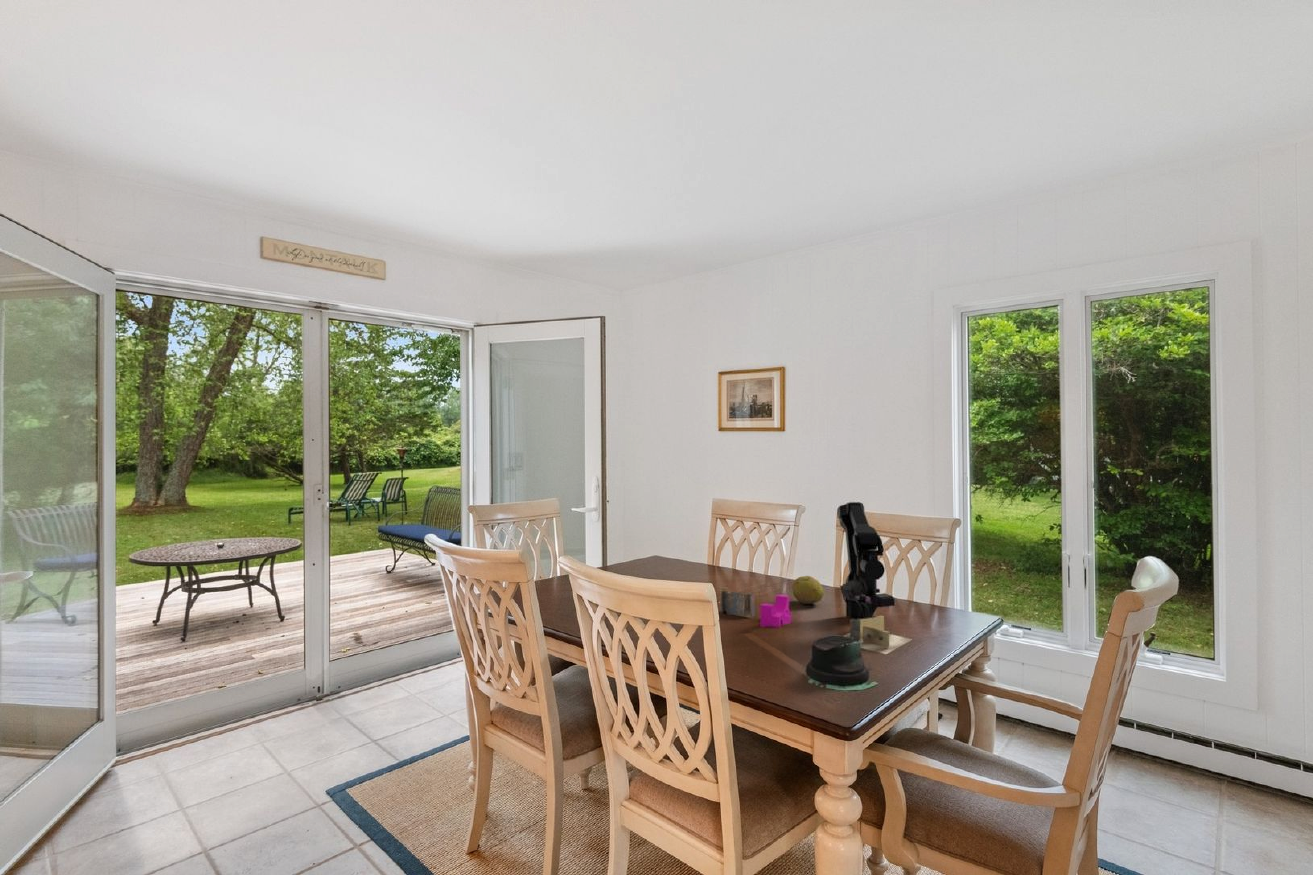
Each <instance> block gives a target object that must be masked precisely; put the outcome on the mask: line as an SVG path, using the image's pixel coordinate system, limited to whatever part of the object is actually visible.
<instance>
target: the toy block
mask: <svg viewBox="0 0 1313 875" xmlns="http://www.w3.org/2000/svg"><path fill="white" fill-rule="evenodd" d="M791 623H792V611H790V596H789V595H785V594H777V595H775V602H774V604H772V603H766V602H763V603H762V604H760V628H765V627H776V628H777V627H778V628H780V627H781V626H784V625H788V624H789V625H790V624H791Z"/></svg>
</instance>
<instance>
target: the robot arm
mask: <svg viewBox="0 0 1313 875" xmlns="http://www.w3.org/2000/svg"><path fill="white" fill-rule="evenodd" d="M836 516H837V519H838V520H839V525H840V526H841V527H842V529H843V530H844V532H845V542H846V550H847V553H846V554H847V562H848V569H849V570H848V571H849V572H848V575H847V576H846V579H845V581H844V582H845V583H843V584H841V585H840V586H839V588H840V592H841V594H842V600H843V601H844V602H845V612H846V615H845V617H846V618H847V617H850V618H851V619H858V618H866V617H874V614H875V612H876V611H877V609H878V608H884V607H886V608H887V607H893V606H894V607H895V606H896V598H894V596H893V595H891V594H888V593H880V592H881V591H880V590H881V589H879V588H878V587H877V586H878V585H877V584H878V582H877V581H878V580H880V578H882V577H883V576H884V574H885V566H884V564H883V563H882V562H881V561H880V560H879V557H880V556H881V557H882V556H883V557H884V551H885V549H884V545H883V540H882V538H881V536H880V534H878V532H877V530H876V529H875V528H874V527H872V526H871V525H870V524H869V522H868V518H867V516H866V514H865V505H864V504H863V502H861V501H856V502H855V501H853V502H852V501H851V502H846V503H845V504H842V505H839V506H838V507H837V509H836Z"/></svg>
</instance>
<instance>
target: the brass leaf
mask: <svg viewBox="0 0 1313 875" xmlns="http://www.w3.org/2000/svg"><path fill="white" fill-rule="evenodd" d="M857 619H858V620H860V637H863V626H866V627H871V628H875V629H879V630H884V631H885V616H884V615H875V616H874V615H873V616H872V617H866V618H857Z"/></svg>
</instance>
